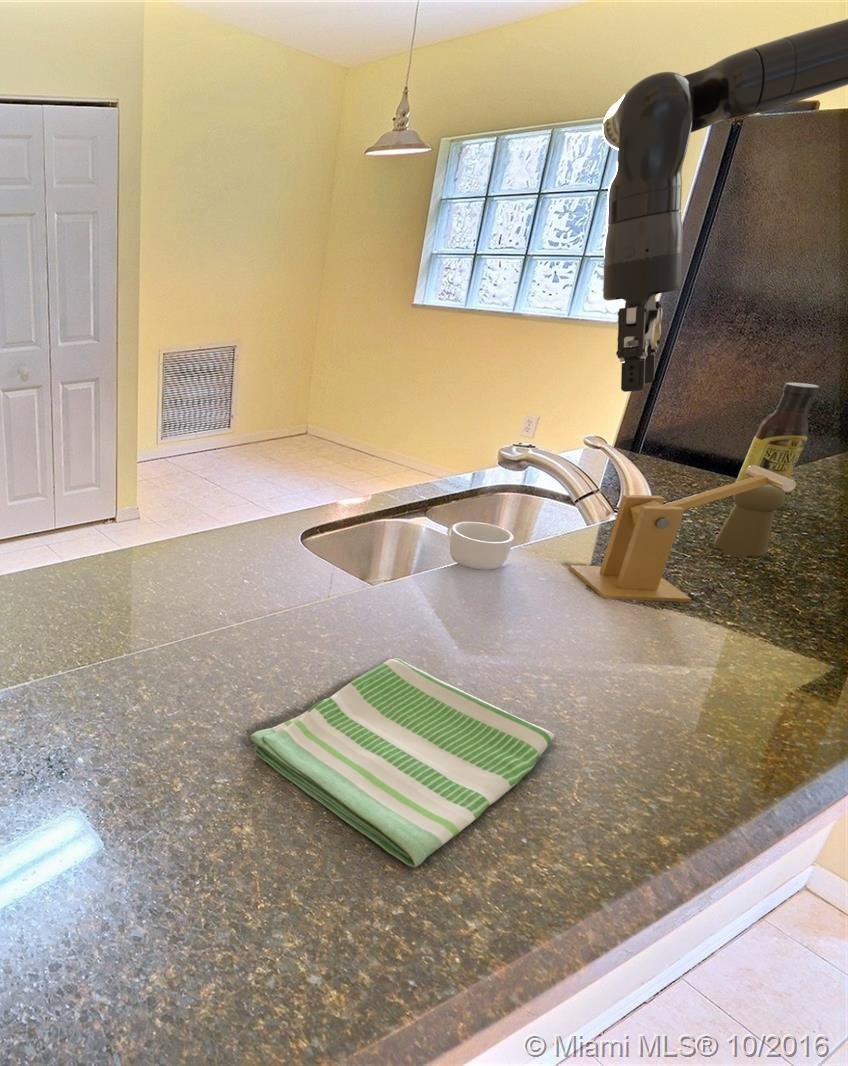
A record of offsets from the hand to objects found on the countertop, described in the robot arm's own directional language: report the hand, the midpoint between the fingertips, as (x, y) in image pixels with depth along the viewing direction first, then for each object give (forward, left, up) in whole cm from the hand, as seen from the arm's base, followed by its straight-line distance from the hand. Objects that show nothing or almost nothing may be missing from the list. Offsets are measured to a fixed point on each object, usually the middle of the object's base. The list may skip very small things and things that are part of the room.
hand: (638, 386), depth 92 cm
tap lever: (-10, 0, -14) cm, 17 cm away
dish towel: (-5, +58, -26) cm, 64 cm away
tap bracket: (-6, +4, -26) cm, 27 cm away
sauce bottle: (-7, -52, -26) cm, 59 cm away
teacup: (+11, +11, -26) cm, 31 cm away
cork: (-12, -20, -26) cm, 35 cm away
